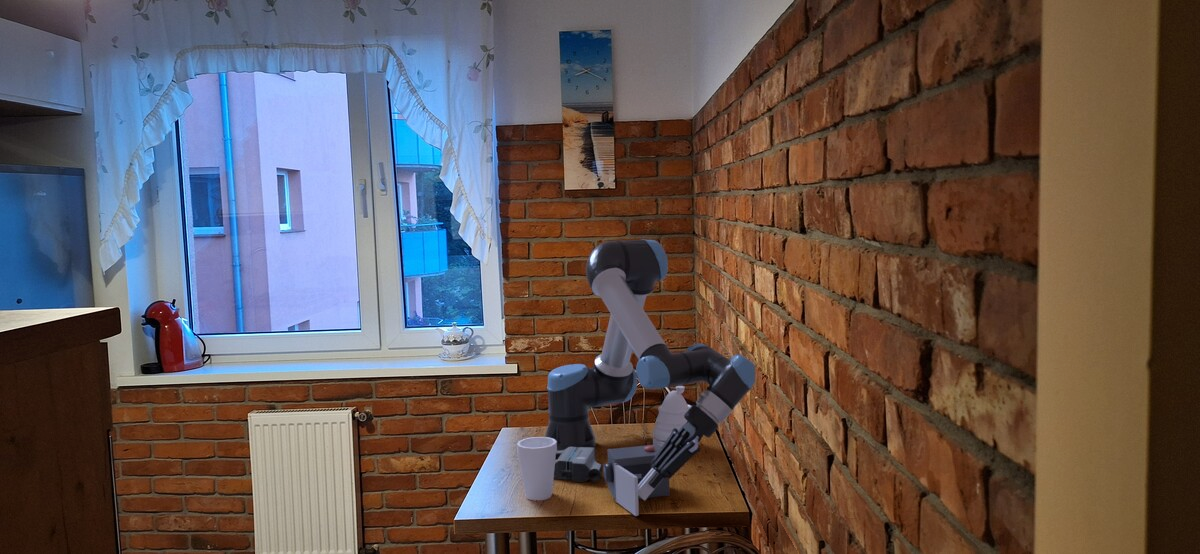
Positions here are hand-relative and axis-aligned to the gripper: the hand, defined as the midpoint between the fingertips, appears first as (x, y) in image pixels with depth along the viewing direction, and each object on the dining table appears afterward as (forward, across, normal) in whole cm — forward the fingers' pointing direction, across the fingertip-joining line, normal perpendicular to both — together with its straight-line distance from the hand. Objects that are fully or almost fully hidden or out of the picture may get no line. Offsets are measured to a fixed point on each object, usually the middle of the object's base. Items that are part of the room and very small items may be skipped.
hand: (639, 495), depth 162 cm
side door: (+4, -3, +1) cm, 5 cm away
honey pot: (-13, -43, +19) cm, 49 cm away
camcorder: (+10, -32, -4) cm, 34 cm away
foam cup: (+17, -17, -12) cm, 27 cm away
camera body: (+1, -12, +5) cm, 13 cm away
